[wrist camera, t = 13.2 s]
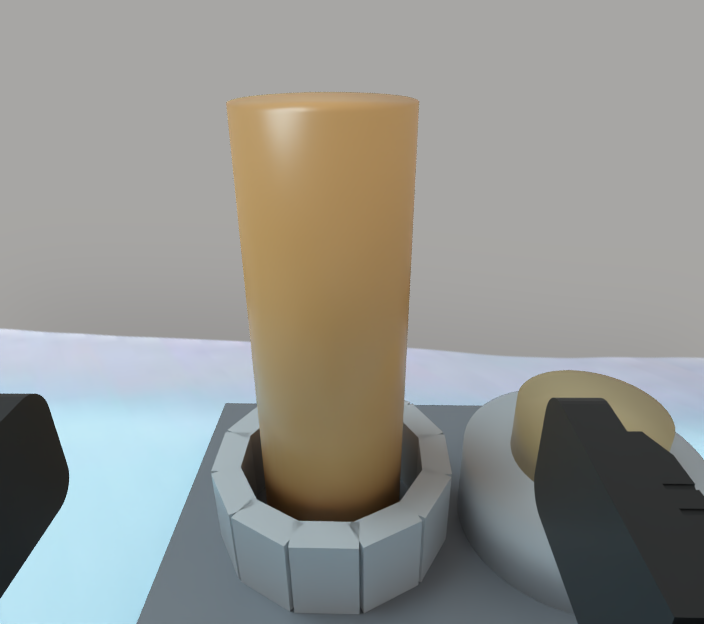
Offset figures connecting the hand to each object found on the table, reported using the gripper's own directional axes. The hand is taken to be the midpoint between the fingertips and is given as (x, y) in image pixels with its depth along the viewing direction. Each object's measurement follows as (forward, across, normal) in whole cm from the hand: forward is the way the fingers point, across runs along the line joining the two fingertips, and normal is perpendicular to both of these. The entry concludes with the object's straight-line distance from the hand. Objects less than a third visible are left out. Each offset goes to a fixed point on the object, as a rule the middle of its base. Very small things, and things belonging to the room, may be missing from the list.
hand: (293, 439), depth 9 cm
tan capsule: (+8, 0, +11) cm, 14 cm away
